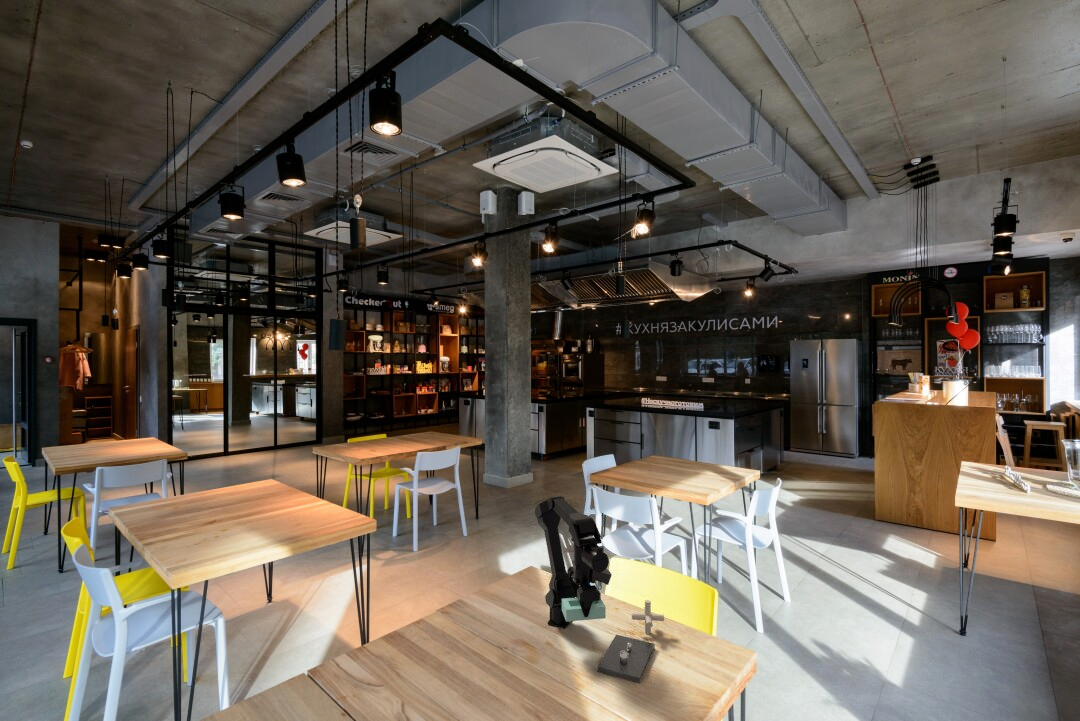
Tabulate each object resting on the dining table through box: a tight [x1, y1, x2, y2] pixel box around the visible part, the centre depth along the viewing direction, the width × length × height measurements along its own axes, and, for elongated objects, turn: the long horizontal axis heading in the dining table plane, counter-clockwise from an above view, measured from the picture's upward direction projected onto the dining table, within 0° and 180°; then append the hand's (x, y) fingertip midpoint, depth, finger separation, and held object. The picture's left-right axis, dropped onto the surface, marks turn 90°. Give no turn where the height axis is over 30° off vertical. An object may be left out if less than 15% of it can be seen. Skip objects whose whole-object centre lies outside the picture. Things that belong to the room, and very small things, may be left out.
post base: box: [596, 634, 656, 684], centre depth 148 cm, size 12×18×4 cm, turn 154°
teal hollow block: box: [562, 597, 607, 622], centre depth 155 cm, size 12×7×4 cm, turn 99°
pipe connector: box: [631, 599, 665, 635], centre depth 162 cm, size 10×10×10 cm
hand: (583, 610), depth 155 cm, fingers closed on teal hollow block, 7 cm apart
